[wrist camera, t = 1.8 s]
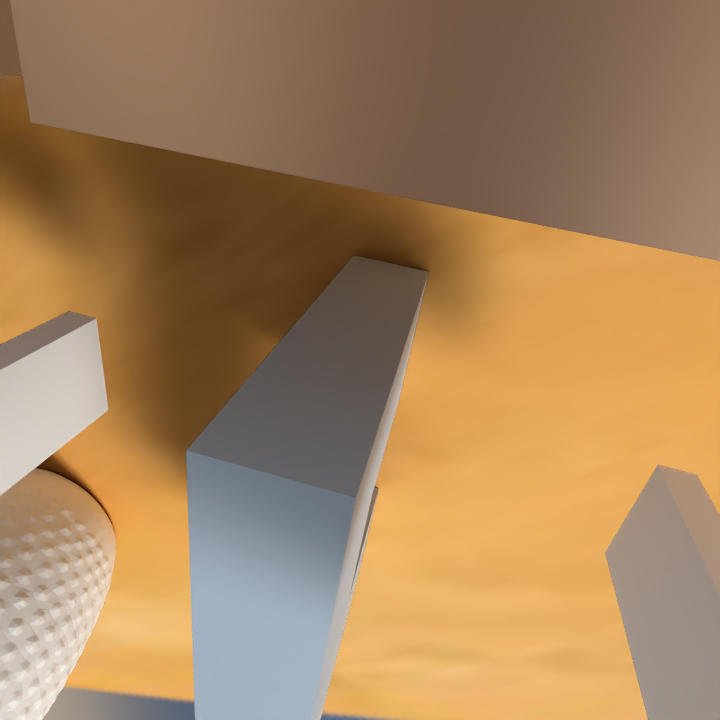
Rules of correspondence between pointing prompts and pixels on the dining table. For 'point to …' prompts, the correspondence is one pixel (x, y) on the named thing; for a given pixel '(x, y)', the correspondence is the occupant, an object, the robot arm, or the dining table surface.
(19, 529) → the mug
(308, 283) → the dining table surface
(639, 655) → the robot arm
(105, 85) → the walnut slot plate
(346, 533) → the pale blue flat slat
